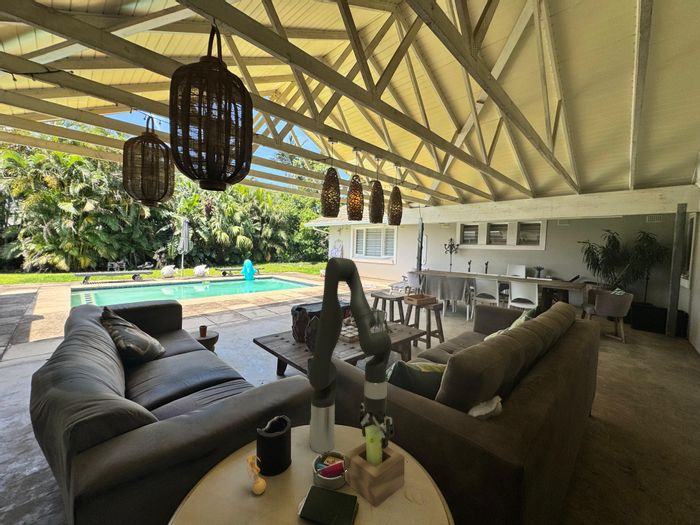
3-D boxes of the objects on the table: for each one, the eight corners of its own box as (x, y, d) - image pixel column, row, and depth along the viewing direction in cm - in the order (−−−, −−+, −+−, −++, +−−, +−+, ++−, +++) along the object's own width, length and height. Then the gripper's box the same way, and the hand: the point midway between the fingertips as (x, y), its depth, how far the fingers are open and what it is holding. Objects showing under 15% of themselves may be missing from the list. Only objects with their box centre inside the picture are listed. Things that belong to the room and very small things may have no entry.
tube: (380, 490, 95) (380, 429, 95) (364, 487, 96) (365, 427, 96) (383, 478, 100) (383, 420, 100) (368, 475, 102) (369, 418, 102)
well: (344, 481, 99) (344, 454, 99) (373, 462, 108) (373, 438, 108) (375, 507, 88) (375, 477, 88) (404, 484, 98) (404, 456, 98)
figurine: (260, 503, 89) (261, 463, 89) (241, 502, 90) (241, 462, 90) (269, 483, 98) (270, 446, 98) (251, 482, 98) (252, 445, 98)
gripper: (352, 389, 101) (351, 436, 101) (384, 404, 90) (383, 457, 90) (367, 383, 106) (367, 428, 106) (399, 397, 96) (398, 447, 96)
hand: (374, 441), depth 98 cm, fingers open, 8 cm apart
